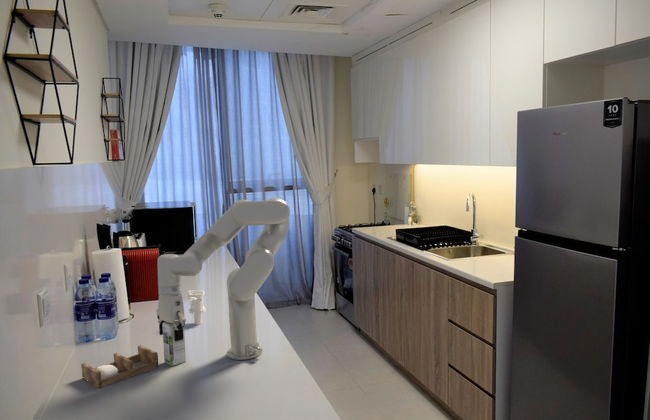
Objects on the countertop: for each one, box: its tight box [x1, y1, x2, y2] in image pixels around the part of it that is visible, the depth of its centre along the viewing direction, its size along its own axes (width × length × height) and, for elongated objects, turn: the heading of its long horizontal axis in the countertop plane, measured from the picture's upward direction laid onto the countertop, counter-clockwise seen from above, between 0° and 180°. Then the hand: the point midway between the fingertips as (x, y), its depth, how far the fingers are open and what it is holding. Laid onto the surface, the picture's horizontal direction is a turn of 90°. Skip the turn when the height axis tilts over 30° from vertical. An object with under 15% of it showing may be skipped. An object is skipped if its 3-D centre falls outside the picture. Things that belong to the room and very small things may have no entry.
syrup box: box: [162, 320, 187, 367], centre depth 182 cm, size 6×6×14 cm
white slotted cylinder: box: [187, 289, 207, 326], centre depth 224 cm, size 7×7×15 cm
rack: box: [81, 345, 160, 389], centre depth 175 cm, size 12×21×5 cm, turn 138°
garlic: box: [96, 364, 120, 380], centre depth 172 cm, size 8×7×4 cm
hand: (171, 337), depth 181 cm, fingers open, 9 cm apart
